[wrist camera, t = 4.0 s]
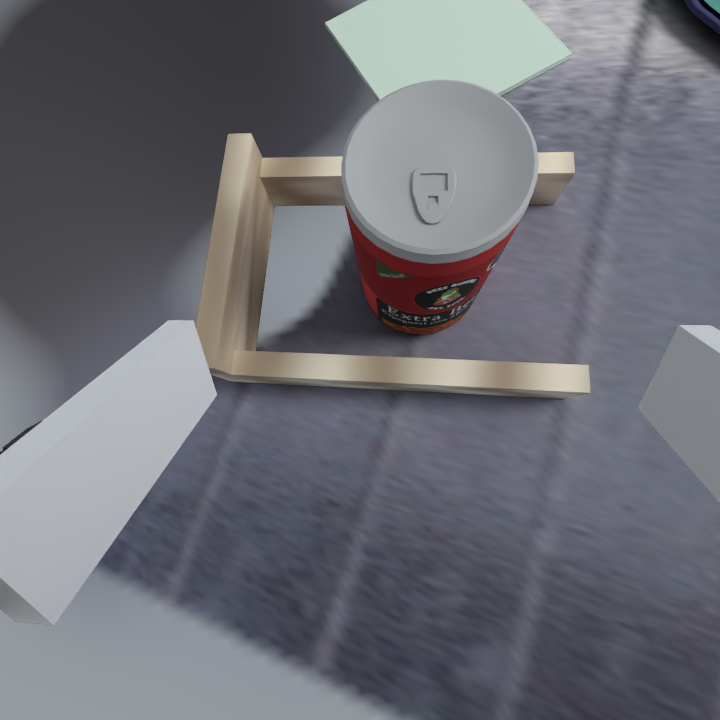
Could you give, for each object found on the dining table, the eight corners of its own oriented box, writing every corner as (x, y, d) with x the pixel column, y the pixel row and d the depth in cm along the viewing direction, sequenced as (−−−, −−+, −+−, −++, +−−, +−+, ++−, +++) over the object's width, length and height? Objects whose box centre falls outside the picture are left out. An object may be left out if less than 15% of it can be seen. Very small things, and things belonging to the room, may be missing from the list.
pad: (569, 58, 27) (572, 53, 27) (409, 144, 27) (409, 140, 26) (469, -48, 30) (470, -55, 30) (326, 28, 30) (325, 22, 30)
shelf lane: (552, 185, 25) (590, 124, 20) (564, 398, 22) (613, 387, 17) (258, 188, 27) (228, 133, 22) (230, 381, 24) (188, 367, 19)
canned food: (376, 349, 24) (360, 276, 13) (353, 244, 25) (322, 103, 15) (490, 324, 23) (572, 227, 12) (458, 219, 25) (506, 56, 14)
